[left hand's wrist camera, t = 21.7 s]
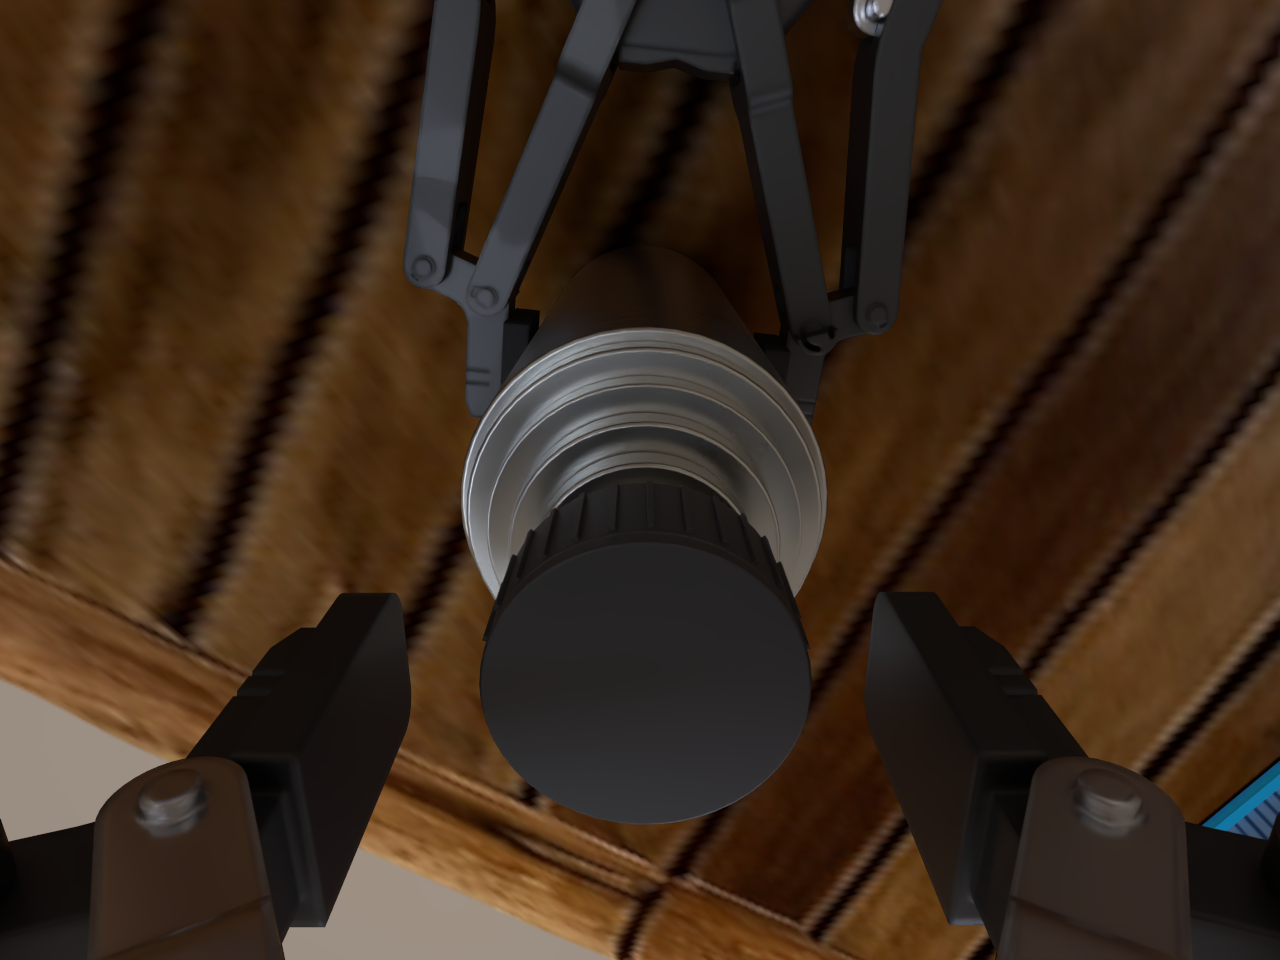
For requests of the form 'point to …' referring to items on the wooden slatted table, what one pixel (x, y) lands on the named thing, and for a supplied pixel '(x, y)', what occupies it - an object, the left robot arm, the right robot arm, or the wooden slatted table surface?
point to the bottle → (643, 414)
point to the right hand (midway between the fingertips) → (627, 521)
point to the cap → (645, 656)
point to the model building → (1252, 808)
